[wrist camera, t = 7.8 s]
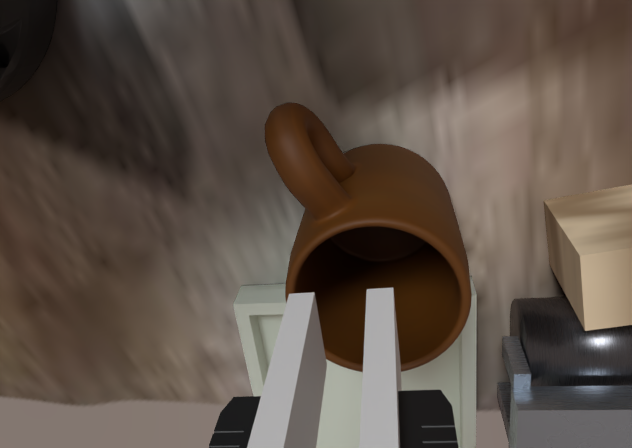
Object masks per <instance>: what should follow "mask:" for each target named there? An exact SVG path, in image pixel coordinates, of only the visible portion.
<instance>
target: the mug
mask: <svg viewBox="0 0 632 448" xmlns="http://www.w3.org/2000/svg"><path fill="white" fill-rule="evenodd" d="M265 142H266V146H267V149H268V153H269V155H270V158H271V160H272V162H273V164H274V166H275V168H276V170H277V172H278V173H279V175H280V177H281V179H282V180H283V182H284V184H285V185H286V186H287V188H288V189H289V191H290V192H291V193H292V194H293V195H294V196H295V197H296V199H297V200H298V201H299V202H300V203H301V204H302V205H303V206H304V208H305V212H304V215H303V218H302V220H301V223H300V227H299V230H298V233H297V236H296V239H295V242H294V245H293V248H292V252H291V256H290V261H289V267H288V274H287V280H286V286H285V298H286V303H287V300H288V296H289V294H294V293H311V292H315V298H316V304H317V309H318V315H319V321H320V327H321V333H322V339H323V345H324V351H325V356H326V359H327V360H329V361H331V362H333V363H335V364H337V365H339V366H341V367H344V368H347V369H351V370H354V371H359V372H363V356H364V335H365V313H366V292H367V289H377V288H393V290H394V300H395V311H396V321H397V332H398V342H399V352H400V363H401V372H403V371H407V370H411V369H414V368H417V367H420V366H422V365H424V364H426V363H428V362H430V361H432V360H434V359H435V358H437V357H438V356H440V355H441V354H442V353H444V352H445V351H446V350H447V349H448V348H449V347H450V346H451V345H452V344H453V343H454V342H455V340H456V339H457V338H458V336H459V335H460V333H461V332H462V330H463V328H464V326H465V324H466V322H467V319H468V316H469V313H470V308H471V297H472V294H471V284H470V275H469V266H468V260H467V255H466V252H465V248H464V244H463V241H462V237H461V233H460V230H459V226H458V222H457V219H456V215H455V212H454V209H453V206H452V203H451V199H450V195H449V192H448V190H447V188H446V185H445V183H444V181H443V179H442V178H441V176H440V175H439V173H438V172H437V171H436V170H435V168H434V167H433V166H432V165H431V164H430V163H428V162H427V161H426V160H425V159H424V158H422V157H421V156H419V155H418V154H416V153H414V152H412V151H410V150H408V149H405V148H402V147H399V146H394V145H388V144H371V145H366V146H361V147H358V148H354V149H352V150H350V151H347V152H345V153H344V154H343V153H342V151H341V150H340V149H339V147H338V146H337V144H336V142H335V141H334V139H333V138H332V136H331V134H330V133H329V131H328V130H327V129H326V127H325V126H324V124H323V123H322V122H321V121H320V119H319V118H318V117H317V116H316V115H315V114H314V113H313V112H312V111H310V110H309V109H307V108H306V107H304V106H302V105H300V104H297V103H285V104H282V105H280V106H277V107H276V108H274V109H273V110H272V111H271V112H270V114H269V117H268V119H267V121H266V124H265Z"/></svg>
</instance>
